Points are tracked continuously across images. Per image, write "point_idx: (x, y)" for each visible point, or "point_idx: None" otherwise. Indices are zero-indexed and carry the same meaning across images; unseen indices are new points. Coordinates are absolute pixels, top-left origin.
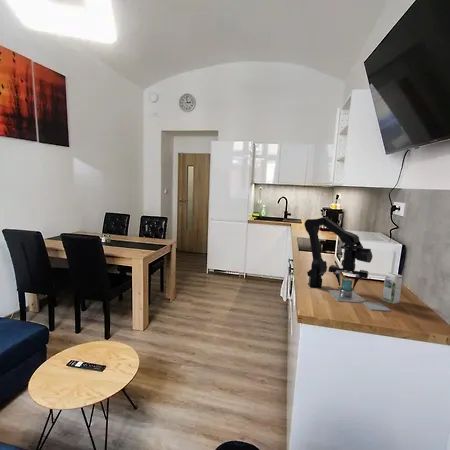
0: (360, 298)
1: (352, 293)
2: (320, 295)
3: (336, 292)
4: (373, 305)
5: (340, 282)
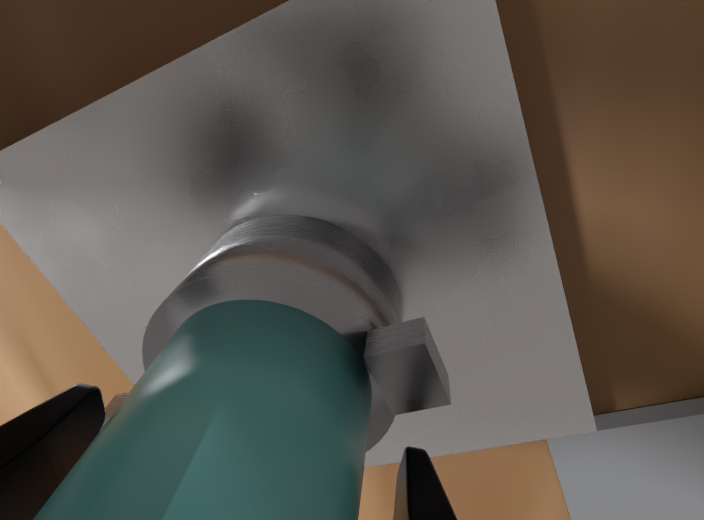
0: (541, 368)
1: (426, 151)
2: (12, 376)
3: (135, 252)
4: (671, 502)
5: (31, 473)
